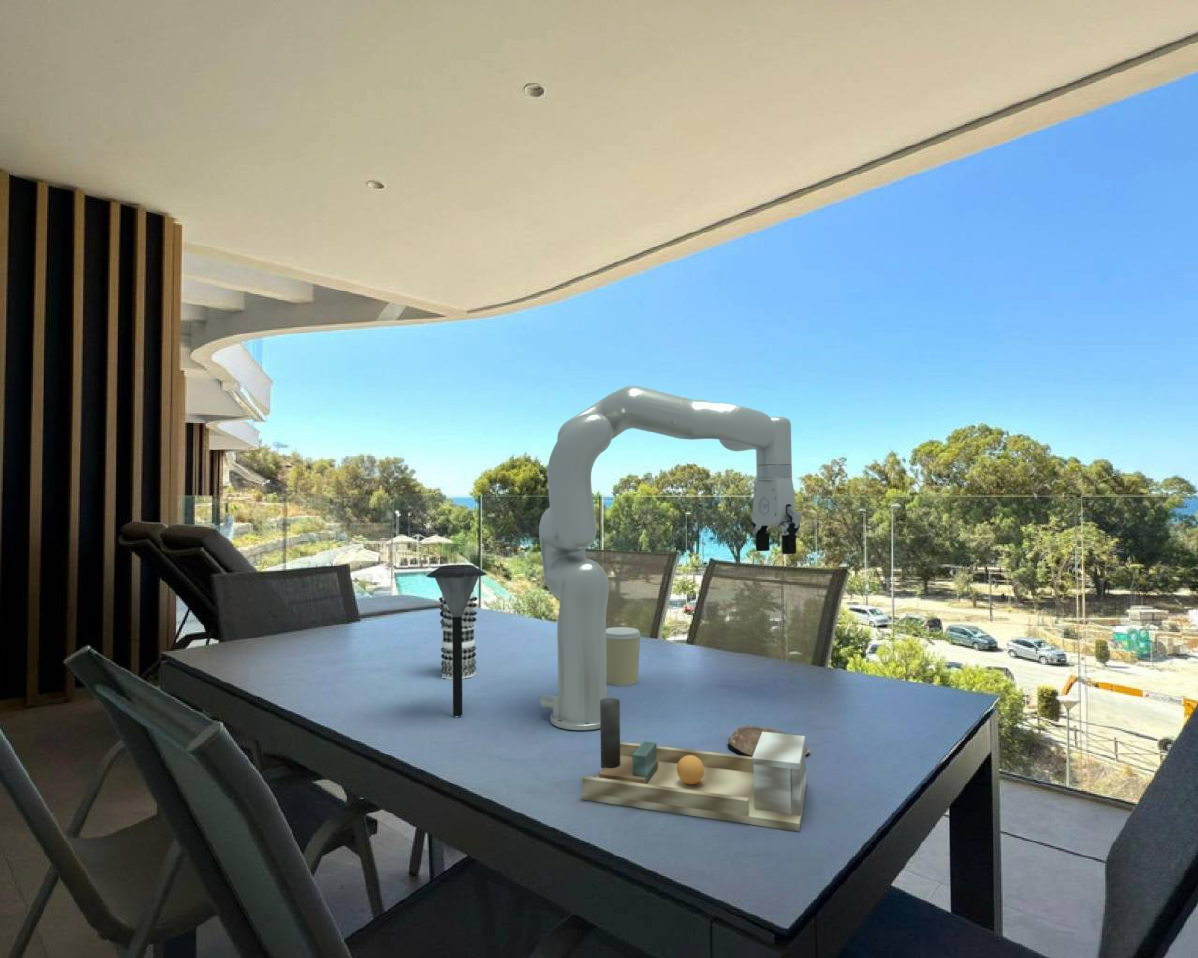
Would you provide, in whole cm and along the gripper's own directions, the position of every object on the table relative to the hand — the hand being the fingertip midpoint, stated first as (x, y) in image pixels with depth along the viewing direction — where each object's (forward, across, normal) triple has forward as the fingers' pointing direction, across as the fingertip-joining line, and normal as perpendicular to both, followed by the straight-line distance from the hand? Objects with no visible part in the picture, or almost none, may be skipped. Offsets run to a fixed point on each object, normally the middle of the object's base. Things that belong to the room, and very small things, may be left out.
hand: (775, 552), depth 151 cm
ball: (+28, +36, -40) cm, 61 cm away
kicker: (+30, +29, -48) cm, 64 cm away
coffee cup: (+31, -25, -27) cm, 48 cm away
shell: (+32, +25, -21) cm, 46 cm away
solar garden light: (+31, -13, -67) cm, 75 cm away
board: (+31, +37, -40) cm, 62 cm away
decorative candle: (+31, -45, -62) cm, 83 cm away
